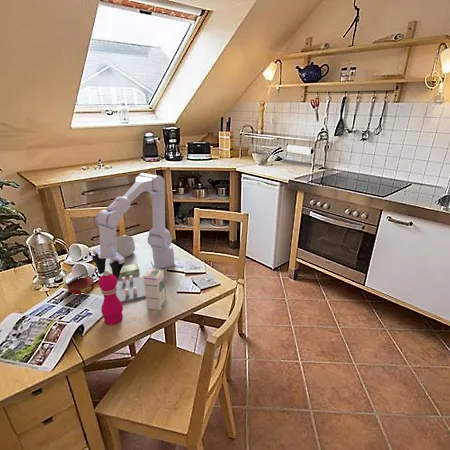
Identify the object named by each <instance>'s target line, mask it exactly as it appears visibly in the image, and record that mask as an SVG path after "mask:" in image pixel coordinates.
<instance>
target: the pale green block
mask: <svg viewBox="0 0 450 450" xmlns="http://www.w3.org/2000/svg"><path fill="white" fill-rule="evenodd" d="M109 274H112V269H111V268H109ZM131 275H132V276H137V275H140V268H139V265H138V263H134V264H128V265H123V267H122V269H121V271H120V275H119V278H118V279H122V277H125V278H127V277H128V278H129V276H131Z"/></svg>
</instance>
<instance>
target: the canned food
mask: <svg viewBox="0 0 450 450" xmlns="http://www.w3.org/2000/svg"><path fill="white" fill-rule="evenodd" d="M89 274H90V272H87V273H83V274H80V275H79V277H78V276H76V277H74V278H72V279H70V280H69V281H67V282H66V283H65V284H66V285H67V291H68V293H69V292H70V293H73V294H81V293H86V294H88V293H90V292H91V291H93V290H94V288H95V283H94V277H92V276H89ZM82 276H87V277H85V278H80V277H82ZM78 278H79V279H78ZM70 293H69V294H70Z"/></svg>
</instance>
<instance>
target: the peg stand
mask: <svg viewBox="0 0 450 450" xmlns="http://www.w3.org/2000/svg"><path fill="white" fill-rule="evenodd" d="M133 276H134V275H133ZM133 276H132V275H131V276H128V278H129V279H127V280H126V277H122V278H121V281H117V284H116V286H117V291H116V295H117V297H118V299H119V300H120V301H121V303H122V304H125V303H130V302H134V301H138V300H142V299H146V294H145V286H144V278H143V276H140V277H135V278H134V277H133Z"/></svg>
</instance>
